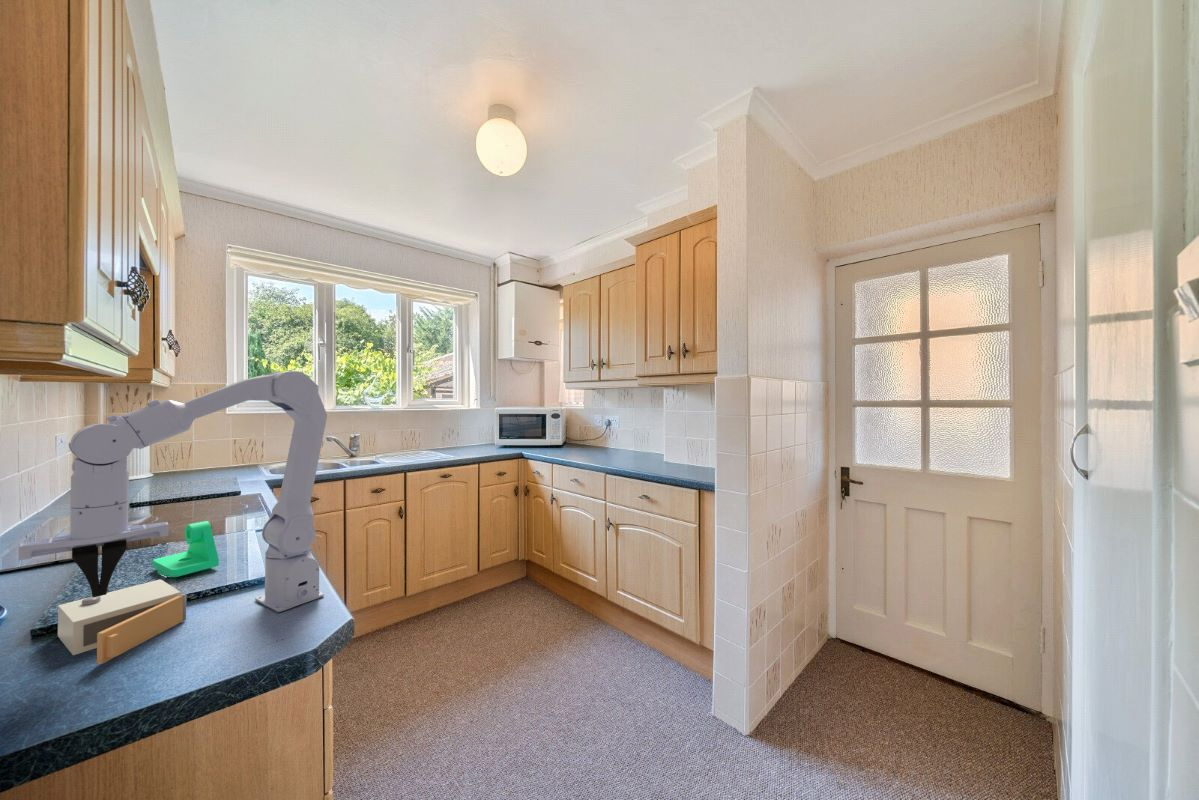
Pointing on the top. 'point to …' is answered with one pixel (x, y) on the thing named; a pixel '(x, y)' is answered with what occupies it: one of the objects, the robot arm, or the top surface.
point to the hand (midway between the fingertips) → (99, 594)
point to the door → (140, 628)
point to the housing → (107, 612)
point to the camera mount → (191, 553)
